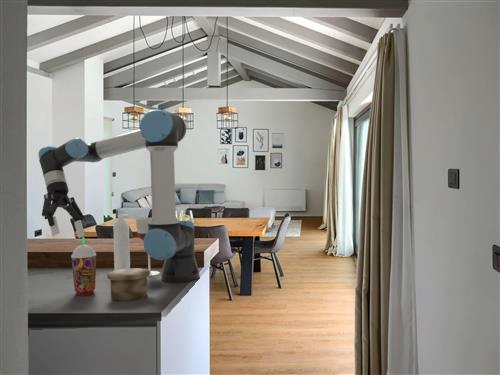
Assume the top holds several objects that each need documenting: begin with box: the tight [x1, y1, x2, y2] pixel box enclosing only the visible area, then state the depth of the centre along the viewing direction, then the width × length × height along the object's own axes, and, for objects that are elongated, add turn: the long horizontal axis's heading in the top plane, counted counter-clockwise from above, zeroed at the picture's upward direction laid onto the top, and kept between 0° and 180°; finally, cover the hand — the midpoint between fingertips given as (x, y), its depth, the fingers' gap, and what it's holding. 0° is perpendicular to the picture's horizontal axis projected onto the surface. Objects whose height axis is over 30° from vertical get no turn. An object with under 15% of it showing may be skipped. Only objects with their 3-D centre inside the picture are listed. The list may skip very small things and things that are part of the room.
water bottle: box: [112, 213, 131, 271], centre depth 188 cm, size 9×6×25 cm
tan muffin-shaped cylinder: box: [106, 267, 151, 302], centre depth 153 cm, size 14×14×8 cm
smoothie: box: [71, 236, 97, 296], centre depth 157 cm, size 8×8×20 cm
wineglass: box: [135, 217, 161, 277], centre depth 187 cm, size 9×10×23 cm
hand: (69, 235), depth 167 cm, fingers open, 13 cm apart
